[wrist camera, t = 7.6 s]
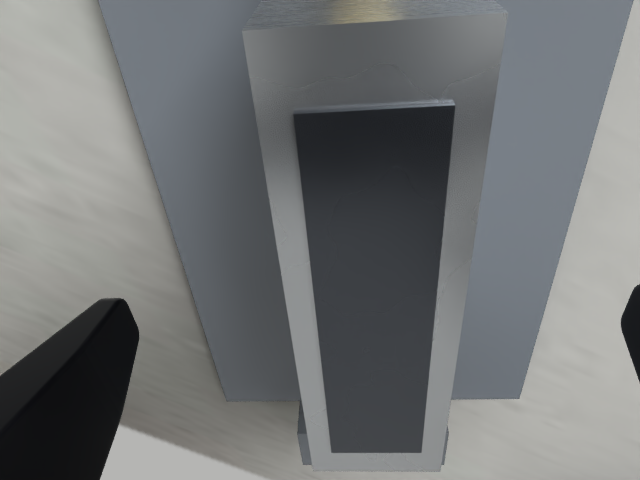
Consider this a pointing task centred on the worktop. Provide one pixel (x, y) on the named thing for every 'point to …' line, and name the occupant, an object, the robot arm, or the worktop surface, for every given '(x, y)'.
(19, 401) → the robot arm
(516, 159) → the drive dock
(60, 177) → the worktop surface
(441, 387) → the drive
